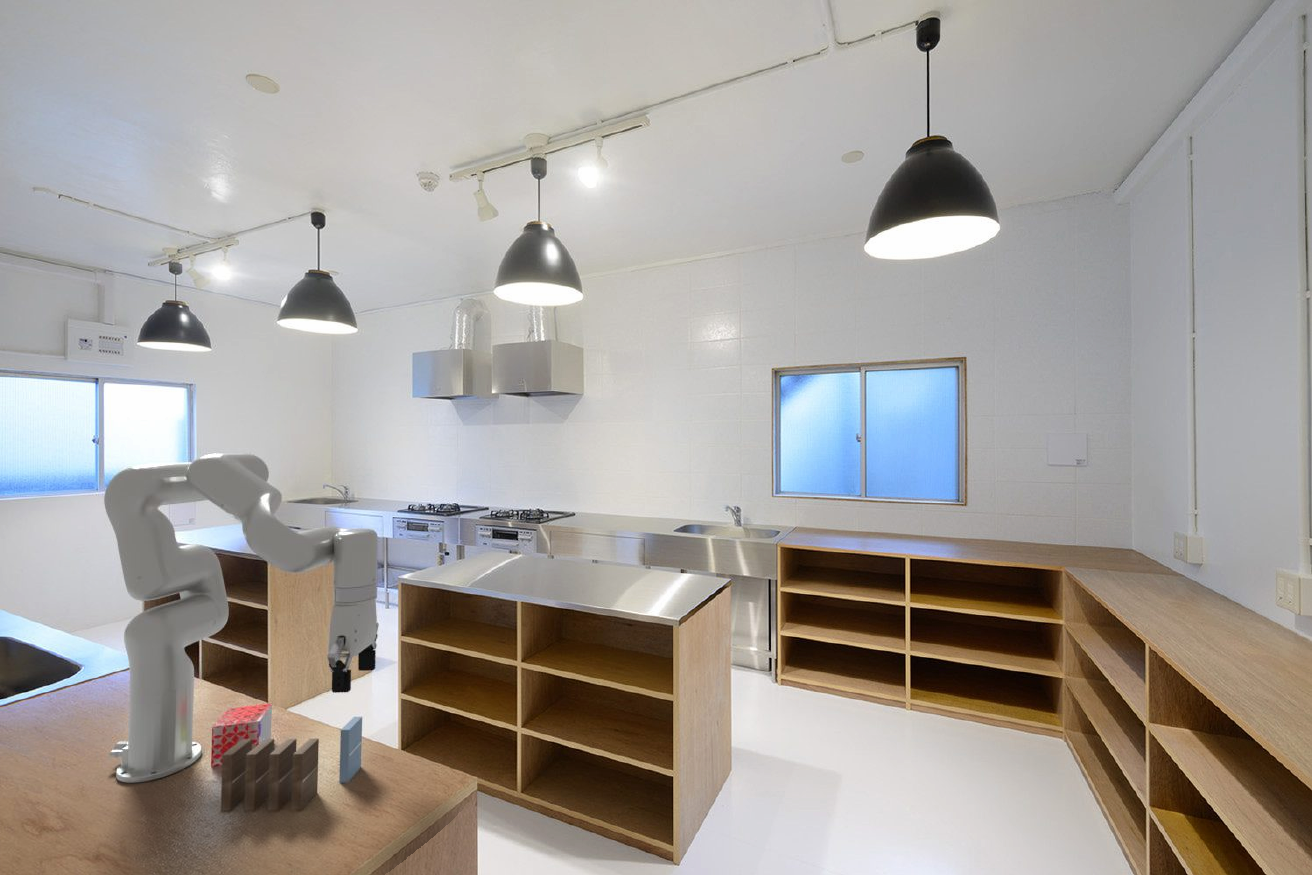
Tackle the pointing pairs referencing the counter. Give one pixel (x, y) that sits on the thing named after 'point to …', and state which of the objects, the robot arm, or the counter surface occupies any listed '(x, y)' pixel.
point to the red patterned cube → (240, 729)
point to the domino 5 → (350, 749)
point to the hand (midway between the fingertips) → (354, 680)
